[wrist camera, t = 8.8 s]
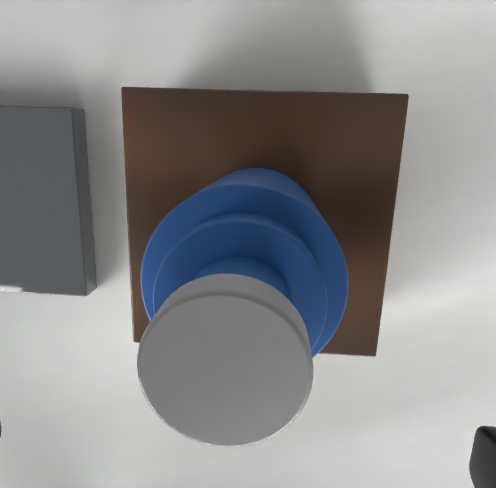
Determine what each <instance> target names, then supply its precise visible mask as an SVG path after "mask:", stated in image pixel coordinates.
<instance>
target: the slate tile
mask: <svg viewBox="0 0 496 488" xmlns="http://www.w3.org/2000/svg"><path fill="white" fill-rule="evenodd" d="M96 288H97V284H96V270H95V256H94V242H93V227H92V213H91V199H90V185H89V171H88V157H87V142H86V128H85V114H84V110H83V109H77V108H72V107H38V106H2V105H0V291H1V292H19V293H37V294H55V295H73V296H88V295H89V294H90V293H91V292H93V291H94V290H95V289H96Z"/></svg>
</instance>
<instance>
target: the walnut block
mask: <svg viewBox="0 0 496 488" xmlns="http://www.w3.org/2000/svg"><path fill="white" fill-rule="evenodd" d="M121 92H122V113H123V134H124V155H125V177H126V198H127V219H128V240H129V261H130V282H131V304H132V325H133V341H134V342H140V341H141V338H142V335H143V333H144V331H145V329H146V328H147V326H148V324H149V323H150V320H149V317H148V315H147V312H146V310H145V306H144V302H143V298H142V292H141V267H142V261H143V256H144V253H145V250H146V247H147V244H148V242H149V240H150V238H151V236H152V234H153V232H154V231H155V229H156V228H157V226H158V225H159V223H160V222H161V221H162V220H163V219H164V217H165V216H166V215H167V214H168V213H169V212H170V211H171V210H172V209H174V208H175V207H176V206H177V205H178V204H180V203H181V202H183V201H184V200H186V199H187V198H189V197H191V196H192V195H194V194H195V193H197V192H199V191H200V190H202V189H203V188H205V187H207V186H208V185H210V184H212V183H213V182H215V181H216V180H218V179H220V178H221V177H223V176H224V175H227V174H229V173H231V172H233V171H237V170H240V169H246V168H265V169H270V170H274V171H277V172H280V173H282V174H284V175H286V176H288V177H290V178H291V179H293V180H294V181H295V182H297V183H298V184H299V185H300V186H301V187H302V188H303V189H304V190H305V192H306V193H307V194H308V195H309V197H310V198H311V200H312V201H313V203H314V204H315V206H316V208H317V209H318V211H319V212H320V214H321V215H322V217H323V218H324V220H325V221H326V223H327V224H328V226H329V228H330V229H331V231H332V232H333V234H334V236H335V237H336V239H337V241H338V243H339V245H340V248H341V250H342V252H343V255H344V259H345V262H346V266H347V273H348V297H347V303H346V308H345V311H344V314H343V317H342V320H341V322H340V324H339V326H338V328H337V330H336V332H335V333H334V335H333V336H332V338H331V339H330V341H329V342H328V343H327V344H326V345H325V347H324V348H323V349H322V350H321V351H320V352H319V353H318V354H332V355H348V356H364V357H375V356H376V351H377V343H378V335H379V327H380V319H381V311H382V304H383V296H384V288H385V280H386V272H387V264H388V256H389V248H390V240H391V233H392V225H393V217H394V209H395V201H396V193H397V185H398V177H399V169H400V162H401V154H402V146H403V138H404V130H405V122H406V114H407V106H408V98H409V96H408V94H395V93H354V92H313V91H272V90H231V89H190V88H148V87H122V89H121Z"/></svg>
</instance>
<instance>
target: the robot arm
mask: <svg viewBox="0 0 496 488" xmlns="http://www.w3.org/2000/svg"><path fill="white" fill-rule="evenodd" d="M0 437H1V423H0ZM469 469H470V475H471V479H472V482H473V484H474V487H475V488H496V427H492V426H481V427H479V428H478V429H477V430H476V433H475V438H474V443H473V448H472V453H471V458H470V464H469Z"/></svg>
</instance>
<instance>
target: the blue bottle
mask: <svg viewBox="0 0 496 488" xmlns="http://www.w3.org/2000/svg"><path fill="white" fill-rule="evenodd" d="M141 292H142V298H143V302H144V306H145V310H146V312H147V315H148V317H149V320H150V323H149V324H148V326H147V328H146V329H145V331H144V333H143V335H142V338H141V341H140V344H139V349H138V355H137V368H138V376H139V381H140V385H141V388H142V391H143V393H144V396H145V398H146V400H147V401H148V403H149V405H150V406H151V408H152V409H153V410H154V412H155V413H156V414H157V415H158V416H159V417H160V419H161V420H162V421H163V422H164V423H166V424H167V425H168V426H169V427H171V428H172V429H173V430H175V431H176V432H178V433H180V434H181V435H183V436H185V437H187V438H189V439H191V440H194V441H197V442H200V443H203V444H207V445H211V446H218V447H242V446H248V445H252V444H256V443H259V442H262V441H265V440H267V439H269V438H271V437H273V436H275V435H277V434H278V433H280V432H281V431H283V430H284V429H285V428H286V427H287V426H289V425H290V424H291V423H292V422H293V421H294V419H295V418H296V417H297V416H298V415H299V413H300V412H301V410H302V409H303V407H304V405H305V403H306V401H307V399H308V397H309V394H310V391H311V388H312V382H313V361H312V358H313V357H314V356H316V355H317V354H318V353H319V352H320V351H321V350H322V349H323V348H324V347H325V345H326V344H327V343H328V342H329V341H330V339H331V338H332V336H333V335H334V333H335V332H336V330H337V328H338V326H339V324H340V322H341V320H342V317H343V314H344V311H345V308H346V303H347V297H348V273H347V266H346V262H345V259H344V255H343V252H342V250H341V248H340V245H339V243H338V241H337V239H336V237H335V236H334V234H333V232H332V231H331V229H330V228H329V226H328V224H327V223H326V221H325V220H324V218H323V217H322V215H321V214H320V212H319V211H318V209H317V208H316V206H315V204H314V203H313V201H312V200H311V198H310V197H309V195H308V194H307V193H306V192H305V190H304V189H303V188H302V187H301V186H300V185H299V184H298V183H297V182H295V181H294V180H293V179H291V178H290V177H288V176H286V175H284V174H282V173H280V172H277V171H274V170H270V169H265V168H246V169H240V170H237V171H233V172H231V173H229V174H227V175H224V176H223V177H221V178H220V179H218V180H216V181H215V182H213V183H212V184H210V185H208V186H207V187H205V188H203V189H202V190H200V191H199V192H197V193H195V194H194V195H192V196H191V197H189V198H187V199H186V200H184V201H183V202H181V203H180V204H178V205H177V206H176V207H175V208H174V209H172V210H171V211H170V212H169V213H168V214H167V215H166V216H165V217H164V219H163V220H162V221H161V222H160V223H159V225H158V226H157V228H156V229H155V231H154V232H153V234H152V236H151V238H150V240H149V242H148V244H147V247H146V250H145V253H144V256H143V261H142V267H141Z"/></svg>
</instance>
